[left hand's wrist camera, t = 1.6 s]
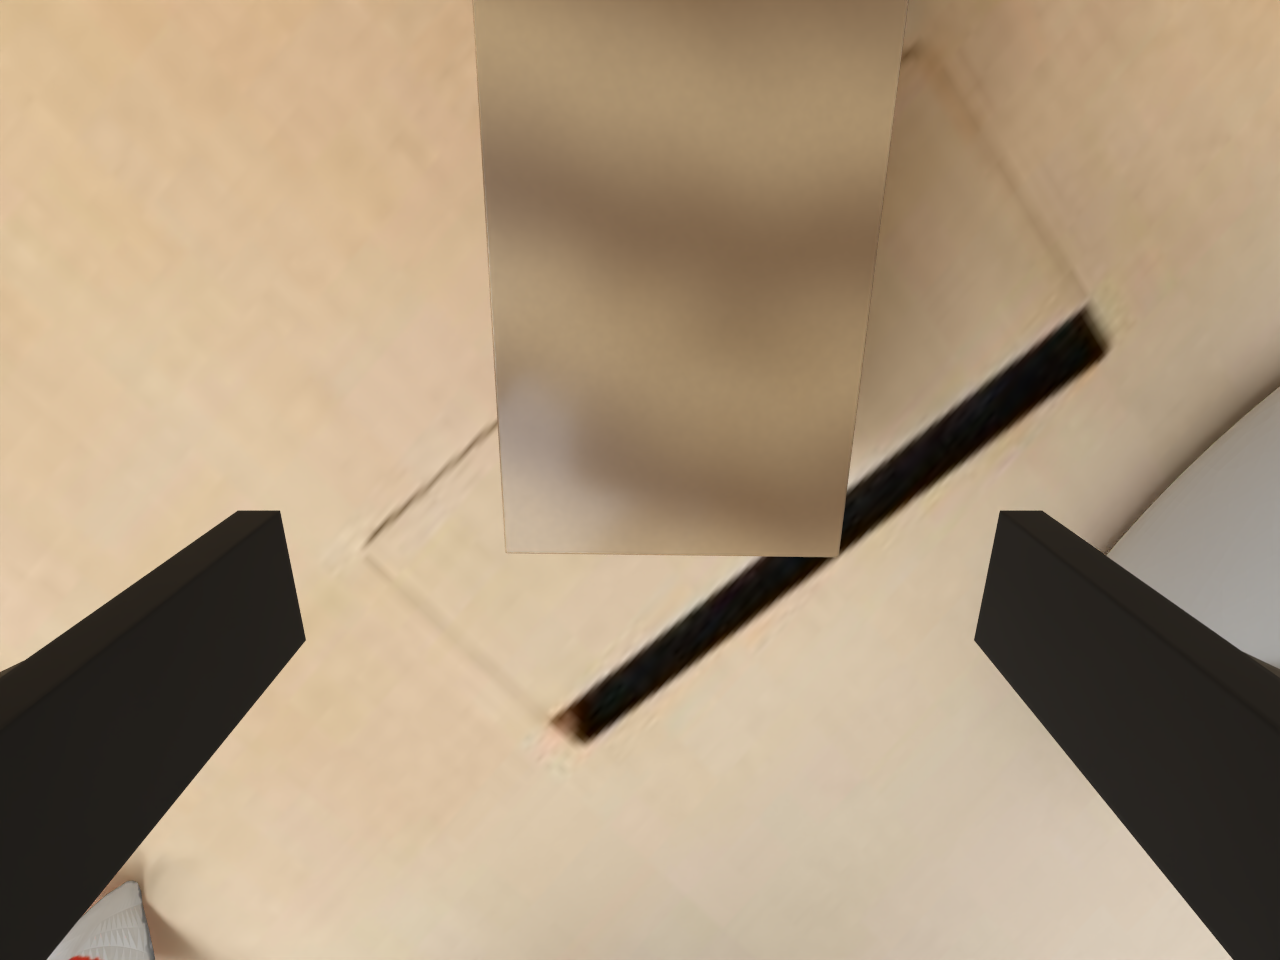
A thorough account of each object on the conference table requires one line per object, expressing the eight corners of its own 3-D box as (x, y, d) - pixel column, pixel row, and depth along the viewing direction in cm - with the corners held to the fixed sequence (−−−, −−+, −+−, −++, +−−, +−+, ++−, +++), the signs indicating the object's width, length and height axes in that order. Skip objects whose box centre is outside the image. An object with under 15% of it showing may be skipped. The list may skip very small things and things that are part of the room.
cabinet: (527, -85, 24) (454, -293, 15) (824, -80, 24) (945, -283, 15) (546, 454, 31) (505, 554, 22) (777, 457, 31) (838, 557, 22)
